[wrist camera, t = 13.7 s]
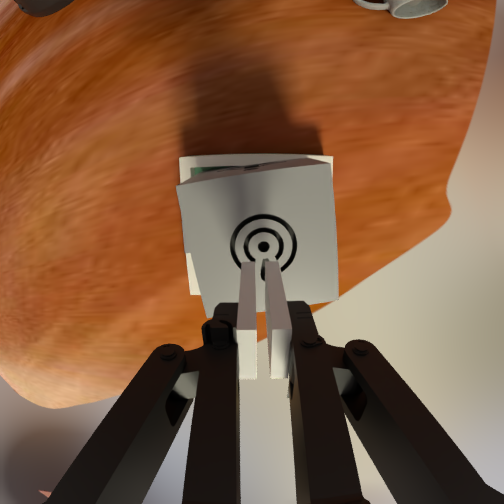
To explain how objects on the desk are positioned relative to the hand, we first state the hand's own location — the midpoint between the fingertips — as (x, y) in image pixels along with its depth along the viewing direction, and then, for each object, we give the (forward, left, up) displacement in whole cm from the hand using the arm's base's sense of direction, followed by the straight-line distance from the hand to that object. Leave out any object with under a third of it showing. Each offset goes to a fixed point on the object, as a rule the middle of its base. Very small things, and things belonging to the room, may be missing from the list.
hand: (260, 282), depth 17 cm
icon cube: (0, +1, -13) cm, 13 cm away
